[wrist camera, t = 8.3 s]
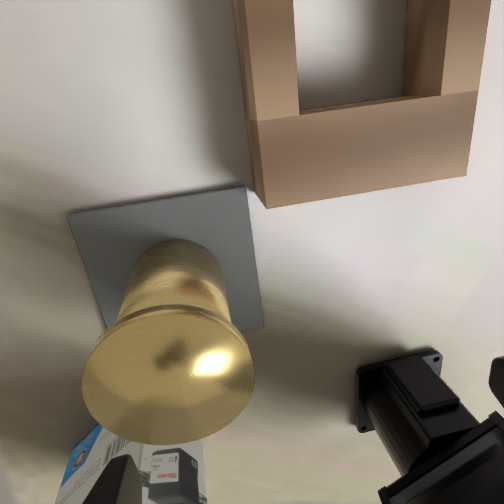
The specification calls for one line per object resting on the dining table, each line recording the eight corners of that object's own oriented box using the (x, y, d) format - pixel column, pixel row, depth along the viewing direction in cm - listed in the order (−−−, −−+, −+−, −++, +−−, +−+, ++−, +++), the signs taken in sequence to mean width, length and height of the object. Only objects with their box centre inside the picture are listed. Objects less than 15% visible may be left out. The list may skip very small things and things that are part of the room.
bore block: (427, 165, 20) (466, 175, 17) (255, 193, 18) (266, 209, 16) (461, -191, 14) (528, -262, 11) (211, -178, 13) (217, -255, 10)
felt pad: (262, 323, 22) (264, 327, 22) (119, 352, 21) (117, 357, 21) (244, 185, 18) (246, 187, 18) (68, 213, 17) (66, 216, 17)
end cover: (225, 223, 18) (247, 304, 11) (236, 315, 21) (260, 428, 14) (109, 238, 18) (57, 334, 11) (135, 332, 20) (107, 458, 13)
